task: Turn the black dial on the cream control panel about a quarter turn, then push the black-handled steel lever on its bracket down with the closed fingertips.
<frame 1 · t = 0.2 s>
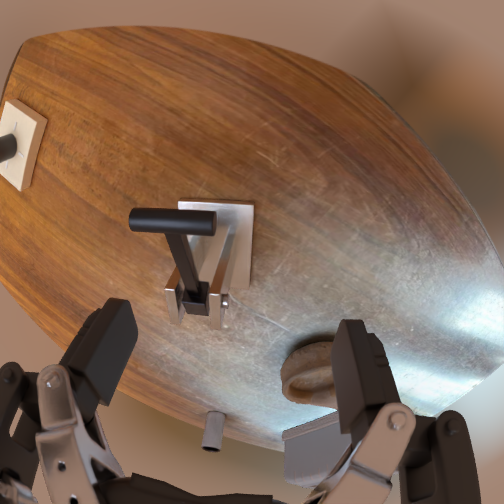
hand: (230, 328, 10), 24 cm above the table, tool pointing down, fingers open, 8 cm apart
toaster: (358, 428, 63), on the table
bracket: (216, 243, 35), on the table
bowl: (325, 358, 46), on the table
lever: (187, 270, 21), point 13 cm above the table, hinge at 25.0°
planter: (216, 414, 60), on the table
dial panel: (21, 142, 28), on the table
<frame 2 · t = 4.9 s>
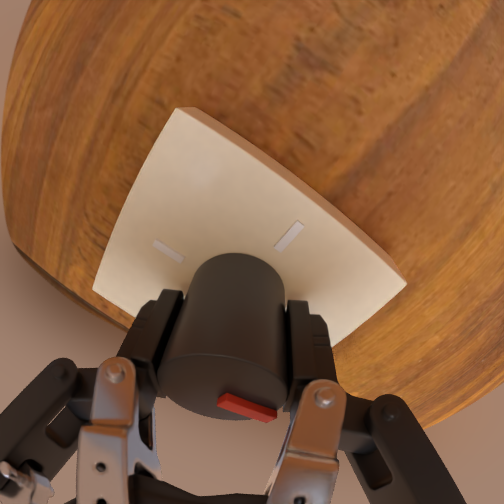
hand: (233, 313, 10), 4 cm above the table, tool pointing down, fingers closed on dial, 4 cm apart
dial panel: (242, 261, 14), on the table
dial: (229, 338, 9), point 5 cm above the table, hinge at 0.0°, touching gripper
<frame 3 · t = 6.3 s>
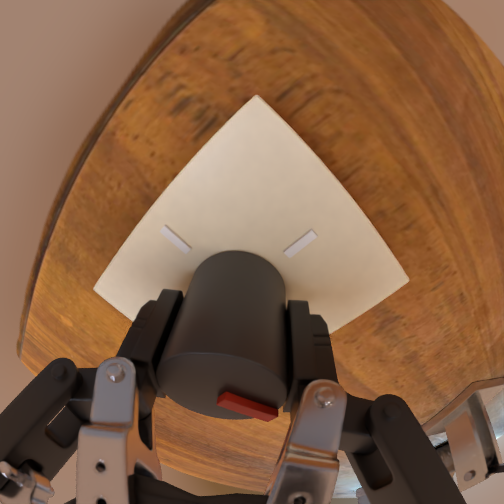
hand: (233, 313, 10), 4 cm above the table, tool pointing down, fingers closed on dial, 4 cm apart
bracket: (461, 406, 23), on the table
bowl: (442, 447, 36), on the table
dial panel: (243, 259, 14), on the table
dial: (229, 337, 9), point 5 cm above the table, hinge at 101.5°, touching gripper
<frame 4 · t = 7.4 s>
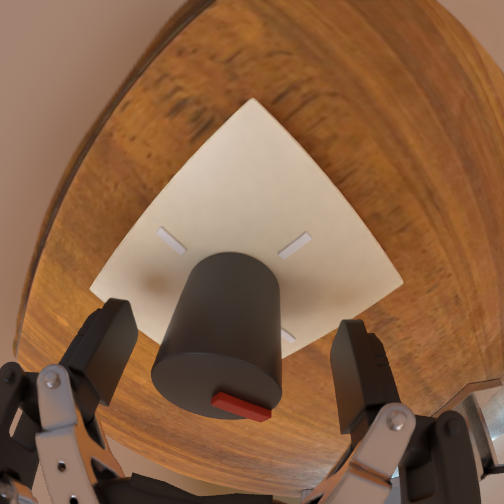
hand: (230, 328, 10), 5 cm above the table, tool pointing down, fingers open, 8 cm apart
toaster: (405, 479, 55), on the table
bracket: (456, 407, 24), on the table
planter: (309, 489, 48), on the table
dial panel: (238, 261, 14), on the table
dial: (224, 338, 9), point 5 cm above the table, hinge at 100.2°
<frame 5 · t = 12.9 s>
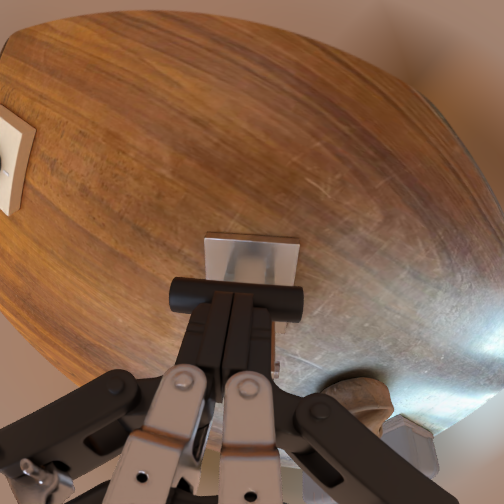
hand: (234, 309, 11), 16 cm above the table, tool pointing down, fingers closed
toaster: (375, 445, 57), on the table
bracket: (249, 284, 30), on the table
bowl: (354, 390, 40), on the table
lever: (238, 346, 16), point 13 cm above the table, hinge at 20.6°, touching gripper
dial panel: (7, 156, 23), on the table
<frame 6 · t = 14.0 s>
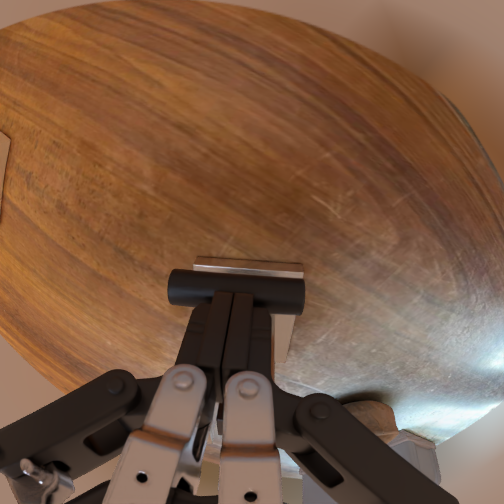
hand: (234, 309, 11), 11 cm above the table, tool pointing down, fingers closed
toaster: (377, 456, 54), on the table
bracket: (246, 312, 26), on the table
bowl: (358, 410, 37), on the table
lever: (235, 375, 14), point 11 cm above the table, hinge at -2.2°
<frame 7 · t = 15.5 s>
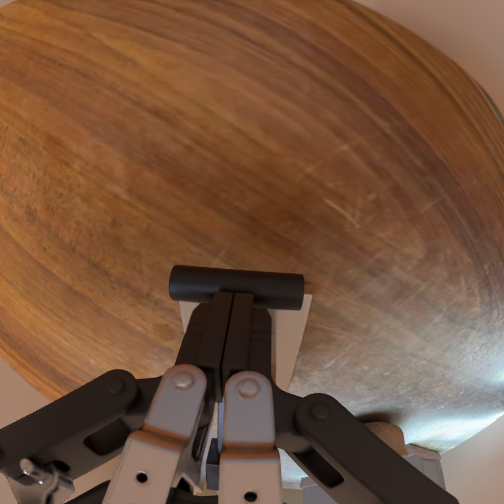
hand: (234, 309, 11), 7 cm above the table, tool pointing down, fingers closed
toaster: (380, 468, 50), on the table
bracket: (242, 337, 22), on the table
bowl: (364, 430, 32), on the table
lever: (230, 402, 12), point 9 cm above the table, hinge at -27.2°, touching gripper
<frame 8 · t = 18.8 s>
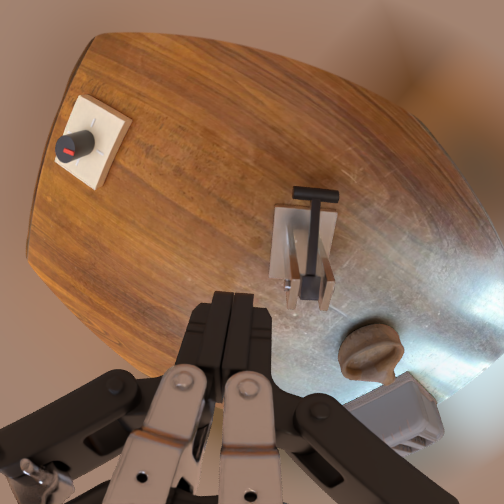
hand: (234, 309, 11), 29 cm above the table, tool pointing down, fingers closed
toaster: (385, 409, 70), on the table
bracket: (300, 243, 42), on the table
bowl: (370, 340, 52), on the table
lever: (312, 243, 32), point 9 cm above the table, hinge at -27.2°
dial panel: (94, 139, 35), on the table
dial: (74, 146, 30), point 5 cm above the table, hinge at 100.2°
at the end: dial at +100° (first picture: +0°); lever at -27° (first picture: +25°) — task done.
